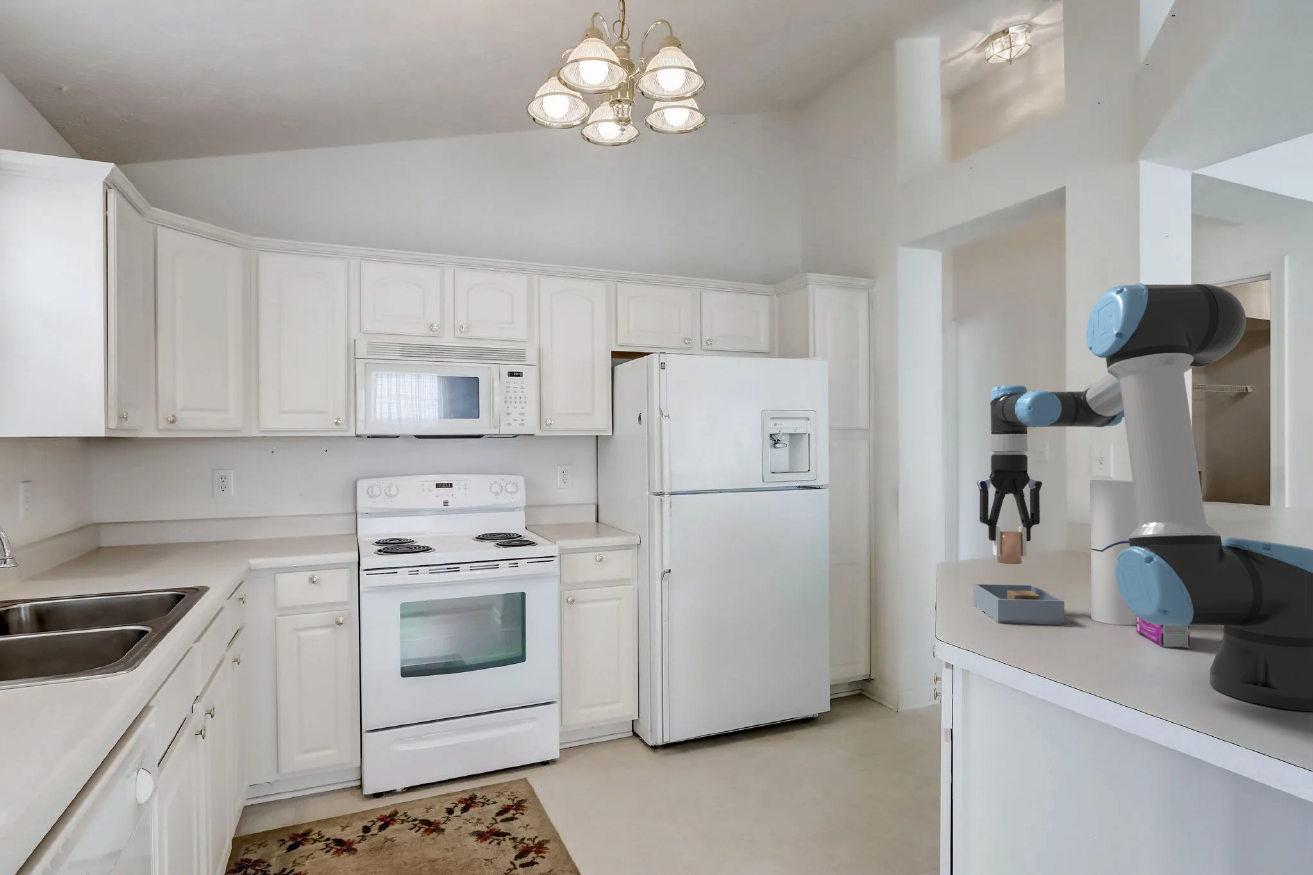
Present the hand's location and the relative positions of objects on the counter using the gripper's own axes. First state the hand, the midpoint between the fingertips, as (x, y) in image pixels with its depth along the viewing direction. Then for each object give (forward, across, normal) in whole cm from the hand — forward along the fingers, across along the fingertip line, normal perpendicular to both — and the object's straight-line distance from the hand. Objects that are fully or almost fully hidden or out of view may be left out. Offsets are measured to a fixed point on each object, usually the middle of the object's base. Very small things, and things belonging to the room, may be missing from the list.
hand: (1009, 555), depth 165 cm
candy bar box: (+13, -20, +23) cm, 33 cm away
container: (+13, -19, +7) cm, 24 cm away
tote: (+13, 0, +4) cm, 13 cm away
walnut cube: (+12, 0, +8) cm, 15 cm away
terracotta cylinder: (+2, 0, 0) cm, 2 cm away
